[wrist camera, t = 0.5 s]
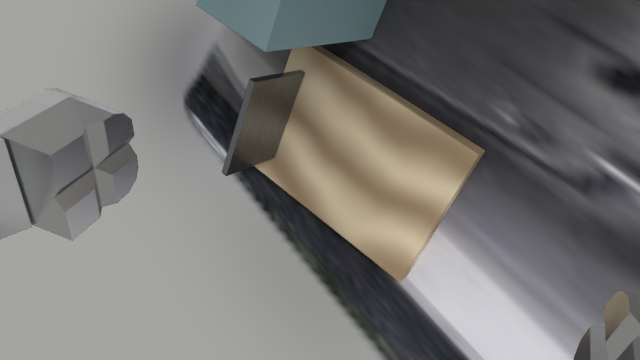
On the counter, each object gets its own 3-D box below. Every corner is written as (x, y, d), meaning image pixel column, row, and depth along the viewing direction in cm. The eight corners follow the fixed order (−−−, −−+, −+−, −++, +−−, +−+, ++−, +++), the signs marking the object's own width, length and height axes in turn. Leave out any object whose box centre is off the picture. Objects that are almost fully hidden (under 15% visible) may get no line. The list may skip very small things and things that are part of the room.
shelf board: (305, 35, 49) (295, 36, 48) (485, 150, 42) (479, 154, 41) (261, 161, 57) (252, 164, 56) (406, 275, 50) (399, 282, 49)
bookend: (288, 61, 49) (236, 69, 44) (305, 72, 48) (254, 82, 43) (259, 146, 54) (210, 163, 49) (274, 158, 54) (226, 175, 48)
